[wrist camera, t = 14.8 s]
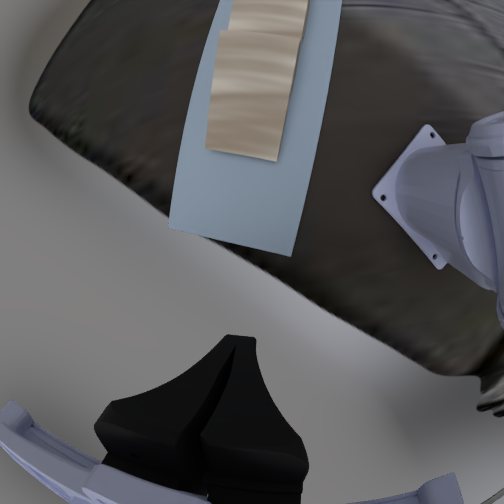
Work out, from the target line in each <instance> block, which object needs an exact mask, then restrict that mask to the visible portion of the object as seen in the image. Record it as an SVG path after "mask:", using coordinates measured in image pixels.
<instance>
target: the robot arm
mask: <svg viewBox="0 0 504 504" xmlns="http://www.w3.org/2000/svg"><path fill="white" fill-rule="evenodd" d="M430 133H432V134H433V138H431V136H430ZM381 195H384V196H385V199H384V200H383V201H381V199H380V197H381ZM372 196H373V198H374V199H375V200H376V201H377V202H378V203H379V204H380V205H381V206H382V207H383V208H384V209H385V210H386V211H387V212H388V213H389V214H390V215H391V216H392V217H393V218H394V219H395V221H396V222H397V223H398V224H399V225H400V226H401V227H402V228H403V229H404V230H405V232H406V233H407V234H408V235H409V236H410V237H411V238H412V240H413V241H414V242H415V243H416V244H417V245H418V247H419V248H420V249H421V250H422V251H423V252H424V254H425V255H426V256H427V257H428V259H429V260H430V261H431V262H432V264H433V265H434V266H435V267H436V268H437V269H442V268H443V267H444V266H445V265H446V263H449V264H450V265H452V266H453V267H454V268H456V269H457V270H459V271H460V272H461V273H463V274H464V275H466V276H467V277H468V278H470V279H471V280H472V281H474V282H475V283H476V284H478V285H479V286H481V287H482V288H485V289H488V290H493V291H495V292H496V293H498V297H497V314H498V319H499V321H500V323H501V326H502V327H503V329H504V111H502V112H499V113H496V114H493V115H490V116H488V117H485V118H483V119H481V120H479V121H477V122H475V123H474V124H473V125H472V126H471V129H470V132H469V135H468V136H467V138H466V143H459V144H449V145H446V143H445V142H444V141H443V140H442V138H441V137H440V136H439V135H438V134H437V133H436V131H435V130H434V129H433V128H432V127H431V126H430V125H428V124H427V125H424V126H422V128H421V129H420V130H419V132H418V133H417V134H416V136H415V137H414V138H413V140H412V141H411V142H410V143H409V145H408V146H407V147H406V148H405V150H404V151H403V152H402V154H401V155H400V156H399V157H398V159H397V160H396V161H395V162H394V164H393V165H392V166H391V167H390V168H389V170H388V171H387V172H386V173H385V175H384V176H383V177H382V178H381V179H380V181H379V182H378V183H377V184H376V186H375V187H374V188H373V189H372ZM434 254H435V257H434V258H433V255H434ZM94 430H95V433H96V435H97V436H98V438H99V440H100V441H101V443H102V444H103V446H104V447H105V449H106V450H107V452H108V453H107V454H106V456H105V458H104V460H103V461H100V460H97V459H96V458H94V457H92V456H90V455H88V454H86V453H83V452H82V451H80V450H78V449H76V448H75V447H73V446H71V445H69V444H68V443H66V442H64V441H63V440H61V439H59V438H58V437H56V436H54V435H53V434H51V433H50V432H48V431H47V430H45V429H44V428H42V427H41V426H39V425H38V424H37V423H35V422H34V421H33V419H32V417H31V416H30V414H29V413H28V412H27V411H26V410H25V409H24V408H23V407H22V406H20V405H19V404H18V403H17V402H15V401H14V400H10V401H9V402H8V403H7V404H6V405H5V407H3V409H2V410H1V411H0V445H1V446H2V447H3V448H4V450H5V451H6V452H7V453H8V454H9V455H10V456H11V457H12V458H13V459H14V460H15V461H16V462H17V463H18V464H20V465H21V466H22V467H23V468H24V469H25V470H27V471H28V472H29V473H30V474H32V475H33V476H34V477H35V478H37V479H38V480H39V481H40V482H42V483H43V484H44V485H46V486H47V487H48V488H49V489H51V490H52V491H53V492H55V493H56V494H58V495H59V496H61V497H62V498H63V499H65V500H66V501H68V502H70V504H301V494H302V491H303V481H304V479H305V477H306V475H307V473H308V470H309V462H308V457H307V453H306V450H305V447H304V444H303V442H302V439H301V437H300V436H299V435H298V434H297V433H296V432H295V431H294V430H293V428H292V427H291V426H290V425H289V424H288V422H287V421H286V420H285V418H284V417H283V416H282V414H281V413H280V411H279V410H278V408H277V407H276V405H275V403H274V402H273V400H272V398H271V396H270V394H269V392H268V390H267V388H266V385H265V383H264V381H263V378H262V375H261V372H260V369H259V365H258V361H257V356H256V339H255V338H254V337H247V336H238V335H229V334H228V335H226V336H224V338H223V339H222V340H221V341H220V342H219V343H218V344H217V345H216V346H215V347H214V348H213V349H212V350H211V351H210V352H209V353H208V354H206V355H205V356H204V357H203V358H202V359H201V360H200V361H198V362H197V363H196V364H195V365H193V366H192V367H191V368H190V369H188V370H187V371H185V372H184V373H183V374H181V375H179V376H178V377H176V378H174V379H173V380H171V381H169V382H167V383H165V384H163V385H161V386H159V387H157V388H154V389H152V390H150V391H147V392H144V393H142V394H138V395H135V396H132V397H128V398H124V399H119V400H115V401H112V402H111V403H110V404H109V405H108V406H107V407H106V409H105V410H104V411H103V413H102V414H101V416H100V417H99V419H98V420H97V422H96V423H95V424H94ZM207 495H208V497H207ZM348 504H464V502H463V498H462V495H461V491H460V489H459V485H458V482H457V479H456V475H455V473H450V474H447V475H444V476H441V477H438V478H435V479H432V480H430V481H428V482H426V483H425V484H423V485H422V486H421V487H420V488H419V489H418V490H416V491H413V492H409V493H405V494H401V495H396V496H392V497H387V498H382V499H376V500H371V501H364V502H357V503H348Z"/></svg>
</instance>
